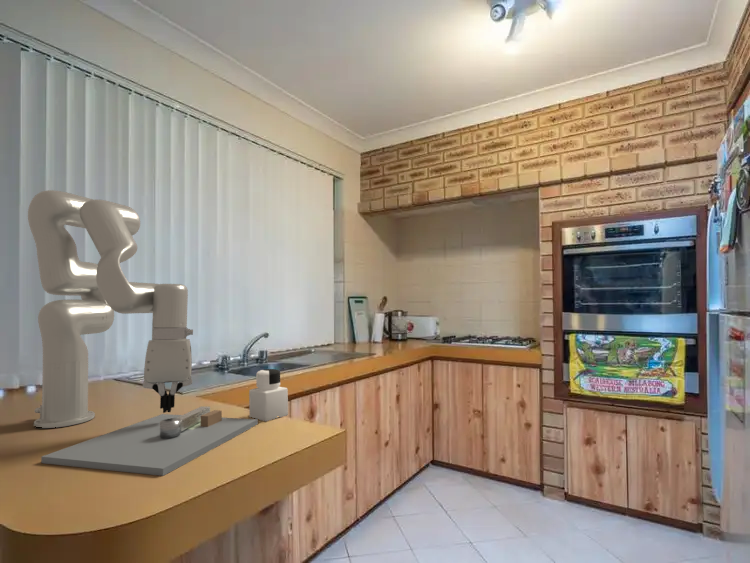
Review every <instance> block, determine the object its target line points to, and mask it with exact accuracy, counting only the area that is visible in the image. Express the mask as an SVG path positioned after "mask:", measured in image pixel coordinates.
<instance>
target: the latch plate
mask: <svg viewBox="0 0 750 563" xmlns="http://www.w3.org/2000/svg"><path fill="white" fill-rule="evenodd" d="M222 413H223V412H222V410H218V409H217V410H216V409H215V410H210V412H209V413H206V414H204V415H201V421H200V422H198V423H197V424H195V425H193V426H191V427H189V428H187V429H185V430H183V431H181V434H180V435H178V436H175V437H171V438H161V437H160V421H162V420H165V419H170V418H177V417H179V416H182V415H183V414H168V413H166V414H164V413H161V414H158V415H156V416H153V417H150V418H147V419H145V420H142V421H138V422H136V423H133V424H131V425H128V426H124V427H122V428H118V429H116V430H113V431H110V432H108V433H104V434H101V435H98V436H95V437H93V438H90V439H88V440H85V441H83V442H82V441H81V442H79V443H77V444H74V445H69V446H67V447H64V448H61V449H59V450H57V451H54V452H51V453H49V454H44V455H42V456H41V459H40V460H41V464H46V465H56V466H57V465H58V466H67V467H76V468H85V469H87V468H88V469H95V470H96V469H97V470H104V471H115V472H124V473H133V474H143V475H152V476H160V477H161V476H165V475H168V474H169V473H171V472H173V471H174V470H176V469H179V468H180V467H182V466H184V465H186V464H188V463H189V462H191V461H193V460H195V459H196V458H199V457H200V456H202V455H204V454H206V453H208V452H210V451H211V450H213V449H215V448H217V447H219V446H220V445H223V444H224V443H227V442H228V441H230V440H232V439H234V438H235V437H237V436H239V435H241V434H243V433H245V432H247V431H249V430H250V429H252V428H254V427H256V426H257V424H258V421H259V420H258V419H254V418H241V417H240V418H237V417H223V416H222V415H223V414H222ZM255 425H256V426H255ZM253 426H254V427H253ZM251 427H252V428H251ZM246 430H247V431H246Z"/></svg>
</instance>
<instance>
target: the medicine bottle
mask: <svg viewBox="0 0 750 563" xmlns="http://www.w3.org/2000/svg"><path fill="white" fill-rule="evenodd" d="M255 376H256V385H255V386H256V388H252V389H249V390H248V391H249V393H248V394H249V395H248V396H249V397H248V398H249V410H248V411H249V418H251V417H252V418H251V419H254V418H255V419H259V420H258V421H263V422H270V421H273V420H276V419H275V418H277V419H279V418H278V417H277V416H279V417H280V418H284V417H286V416H288V415H289V399H288V396H289V395H288V392H289V390H288V389H289V388H288V387H284V386H281V371H280V369H279V370H278V369H276V368H266V369H265V368H264V369H260V370H258V371H257V372H256V374H255ZM272 419H273V420H272ZM269 420H270V421H269Z"/></svg>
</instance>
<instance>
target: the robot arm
mask: <svg viewBox="0 0 750 563" xmlns="http://www.w3.org/2000/svg"><path fill="white" fill-rule="evenodd" d="M27 210H28V211H27V222H28V225H29V229H30V232H31V233H32V237H33V239H34V243H35V247H36V255H37V256H36V257H37V262H38V269H39V270H38V271H39V278H40V284H41V287H42V288H43V290H44V292H46V293H47V294H49V295H53V296H54V295H55V296H67V297H68V296H70V297H71V296H79V297H80V298H81V299H57V300H53V301H50V302H47V303H46V304H44V305H43V306H42V307H41V309H40V310H39V312H38V314H37V315H38V316H37V322H38V328H39V332H40V336H41V337H40V338H41V344H42V382H41V384H42V387H41V388H42V389H41V391H42V393H41V395H42V396H41V399H42V400H41V405H40V406H39V407H36V408H35V409H34V413H35V414H39V415H40V416H39V418H36V420H34V421H33V427H34V426H36V427H42V428H41V429H53V428H55V427H56V428H61V427H63V428H64V427H69V426H73V425H79V424H82V423H85V422H89V421H90V420H93V419H94V418H95V416H96V415H95V414H96V413H95V412H94V411H93V410H88V409H89V350H88V349H89V348H88V346H87V344H86V342H85V341H84V339H83V338H82V335H83V336H84V335H92V334H101V333H104V332H107V331H108V330H109V329H111V327H112V325H113V323H114V320H115V312H116V313H118V314H123V315H124V314H125V315H126V314H127V315H128V314H129V315H130V314H152V320H151V321H152V322H151V324H152V325H151V326H152V327H151V340H148V343H147V346H146V351H145V359H144V368H143V369H144V370H143V383H142V388H144V389H149V390H154V391H155V392H156V393H157V394H158V395H159V396H160V397H159V398H160V400H159V403H160V404H159V408H160V410H161V409H162V414H164V413H166V414H167V413H171V411H172V408H175V398H176V397H175V395H176V394H177V392H179V390H181V389H182V388H184V387H187V386H191V385H193V379H192V371H193V368H192V366H193V361H192V355H193V354H192V347H191V346H192V345H191V341H190V339H188V336H191V335H194V329H190V328H188V296H189V294H188V292H189V291H188V287H187V286H186V285H185V284H182V283H154V282H153V283H152V282H135V281H129V280H128V279H127V278H126V276H125V273H124V272H123V270H122V268H121V263H123V262H126V261H128V260H129V259H131V258H132V257H134V256H135V255H136V253H137V251H138V244H137V242H136V241H135V238H134V237H133V236H135V234H137V233H138V232H139V230H140V228H141V218H140V216H139V214H138V213H137V212H136V210H135V209H134V208H132V207H130V206H127V205H125V204H120V203H116V202H113V201H110V200H106V199H92V198H88V197H85V196H82V195H79V194H78V195H77V194H73V193H70V192H66V191H61V190H55V189H54V190H53V189H52V190H50V189H49V190H43V191H40V192H37V194H36V195H34V196H33V198H32V199H31V201H30V202H29V206H28V209H27ZM65 226H69V227H70V226H71V227H76V228H82V229H86V232H87V234H88V235H89V237H90V239H91V241H92V243H93V245H94V246H95V249H96V250H97V252H98V254H99V256H100V259H99V261H98V263H94V262H90V261H89V262H87V261H81V260H80V258H79V256H78V251H77V245H76V242H75V240H74V238H73V237H72V235H71V233H70V232H69V231H68V230H67V229H66V228H65ZM165 383H171V385H170V386H171V387H170V390H169V391H168V392H167V390H166V385H165ZM36 427H35V428H36Z"/></svg>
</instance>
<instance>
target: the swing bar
mask: <svg viewBox="0 0 750 563" xmlns="http://www.w3.org/2000/svg"><path fill="white" fill-rule="evenodd" d="M209 412H211V406H199V407H197V408H195V409H192V410H191V411H188V412H186V413H184V414H181V415H182V416H179V417H177V418H170V419H165V420H162V421H160V437H161V438H171V437H175V436H178V435H180V434H181V431H183V430H185V429H187V428H189V427H191V426H193V425H195V424H197V423H198V422H200V421H201V415H204V414H206V413H209Z"/></svg>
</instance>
